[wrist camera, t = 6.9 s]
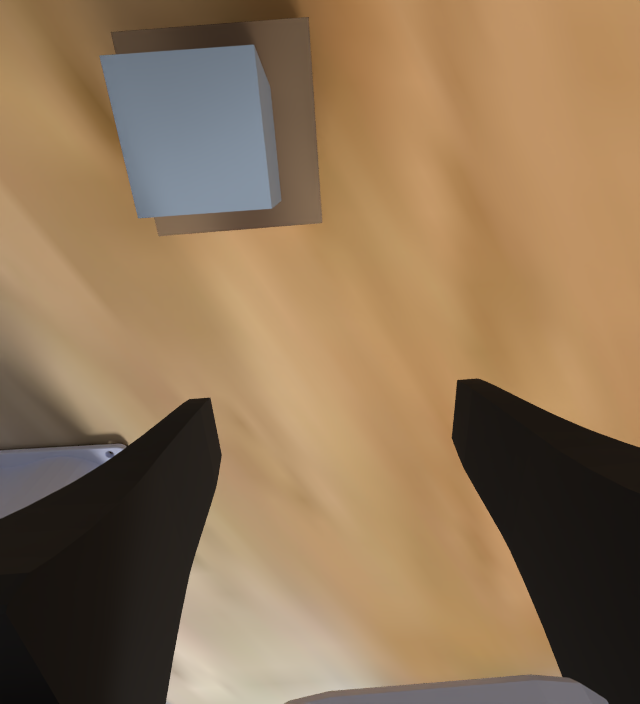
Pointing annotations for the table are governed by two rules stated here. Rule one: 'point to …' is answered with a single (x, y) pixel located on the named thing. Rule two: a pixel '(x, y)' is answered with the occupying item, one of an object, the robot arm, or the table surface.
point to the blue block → (195, 130)
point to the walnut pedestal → (288, 114)
